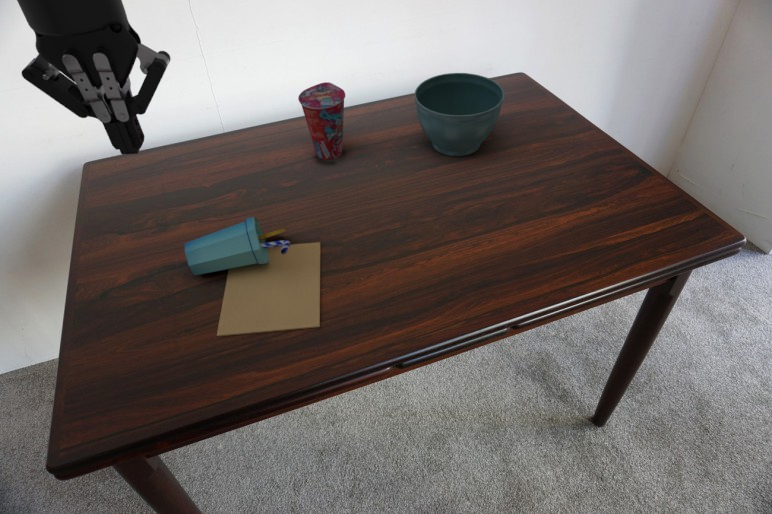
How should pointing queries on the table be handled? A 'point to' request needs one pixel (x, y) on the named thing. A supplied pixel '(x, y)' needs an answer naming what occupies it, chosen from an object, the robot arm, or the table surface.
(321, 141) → the cup
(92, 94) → the robot arm
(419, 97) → the flower pot
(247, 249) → the cup
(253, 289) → the cork mat
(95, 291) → the table surface
